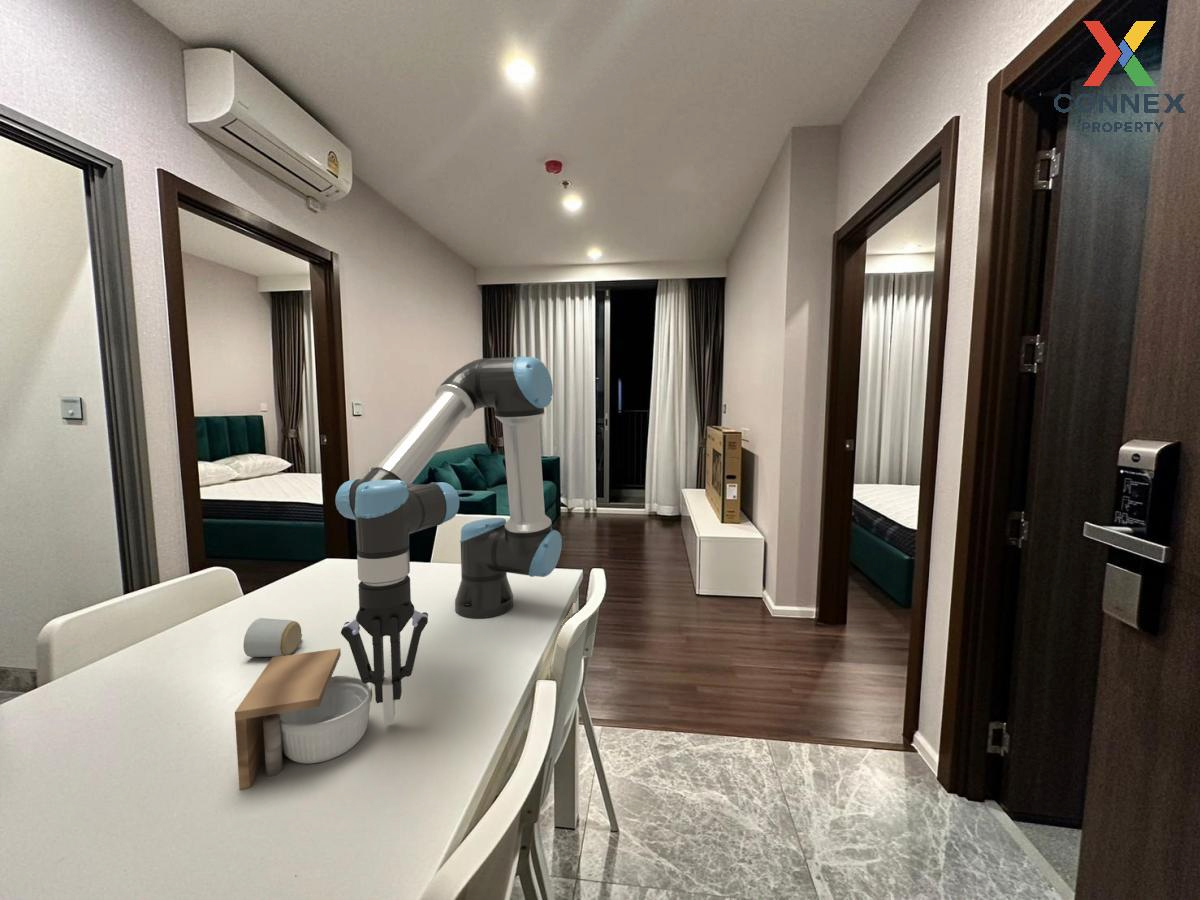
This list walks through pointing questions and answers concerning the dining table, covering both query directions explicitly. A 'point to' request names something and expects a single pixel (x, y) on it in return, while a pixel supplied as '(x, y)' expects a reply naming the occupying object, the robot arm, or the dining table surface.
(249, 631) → the ceramic mug
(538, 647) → the dining table surface
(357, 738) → the ramekin
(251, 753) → the walnut shelf
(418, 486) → the robot arm
